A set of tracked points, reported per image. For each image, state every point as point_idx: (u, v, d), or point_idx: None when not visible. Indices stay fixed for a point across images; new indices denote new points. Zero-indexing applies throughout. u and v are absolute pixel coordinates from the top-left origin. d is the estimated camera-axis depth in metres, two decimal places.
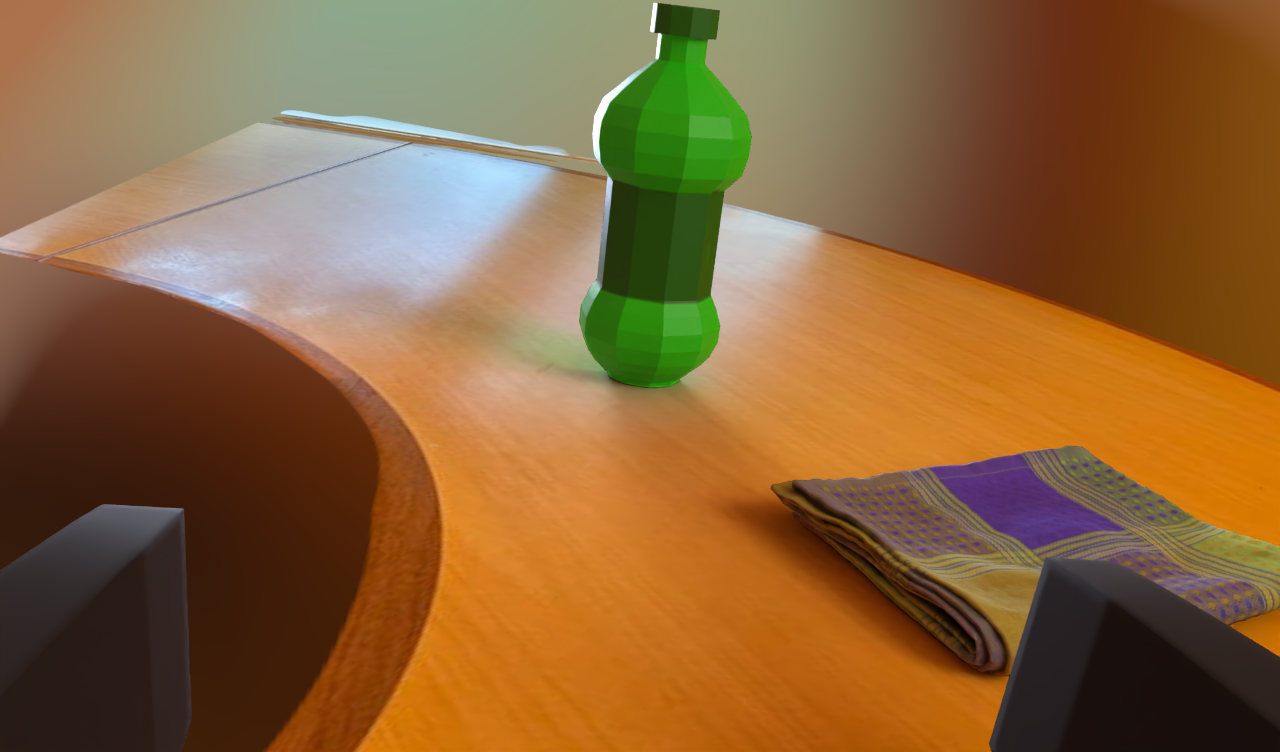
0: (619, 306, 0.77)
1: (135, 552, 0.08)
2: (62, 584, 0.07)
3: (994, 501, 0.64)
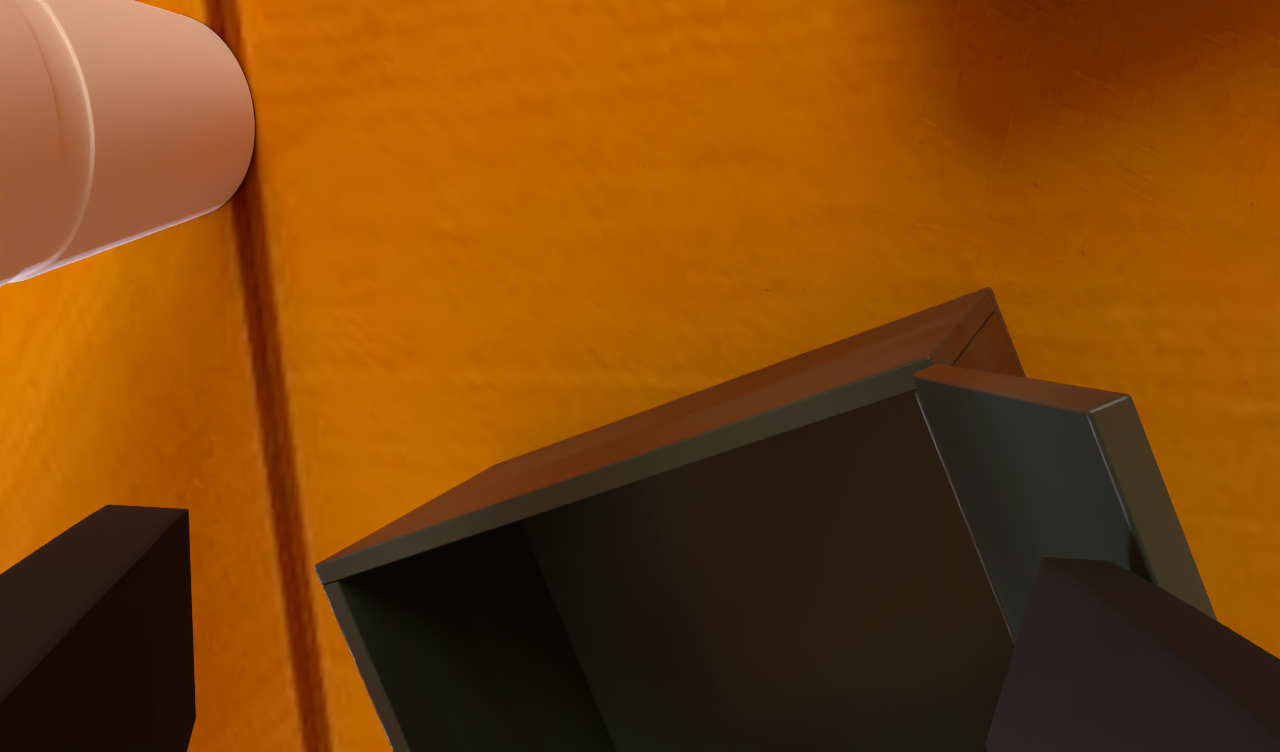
0: None
1: (141, 552, 0.08)
2: (68, 584, 0.07)
3: None
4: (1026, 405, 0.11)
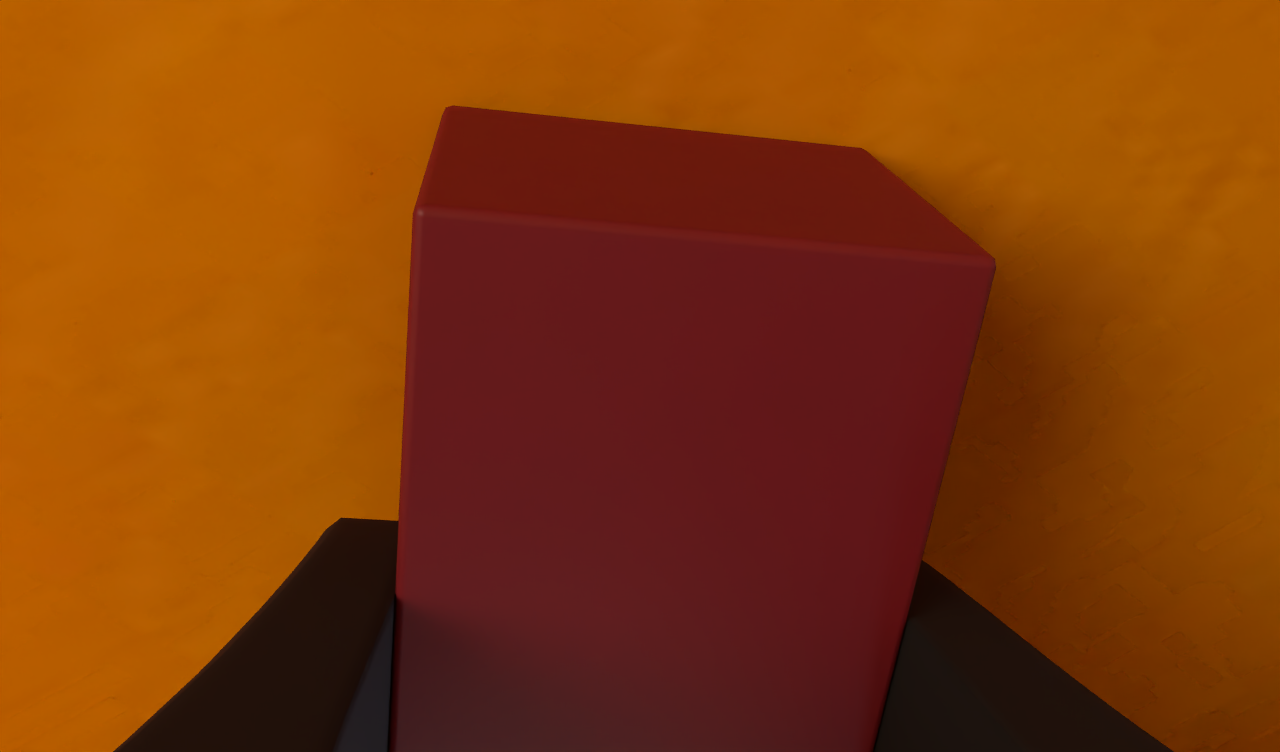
0: None
1: None
2: (350, 598, 0.07)
3: None
4: None
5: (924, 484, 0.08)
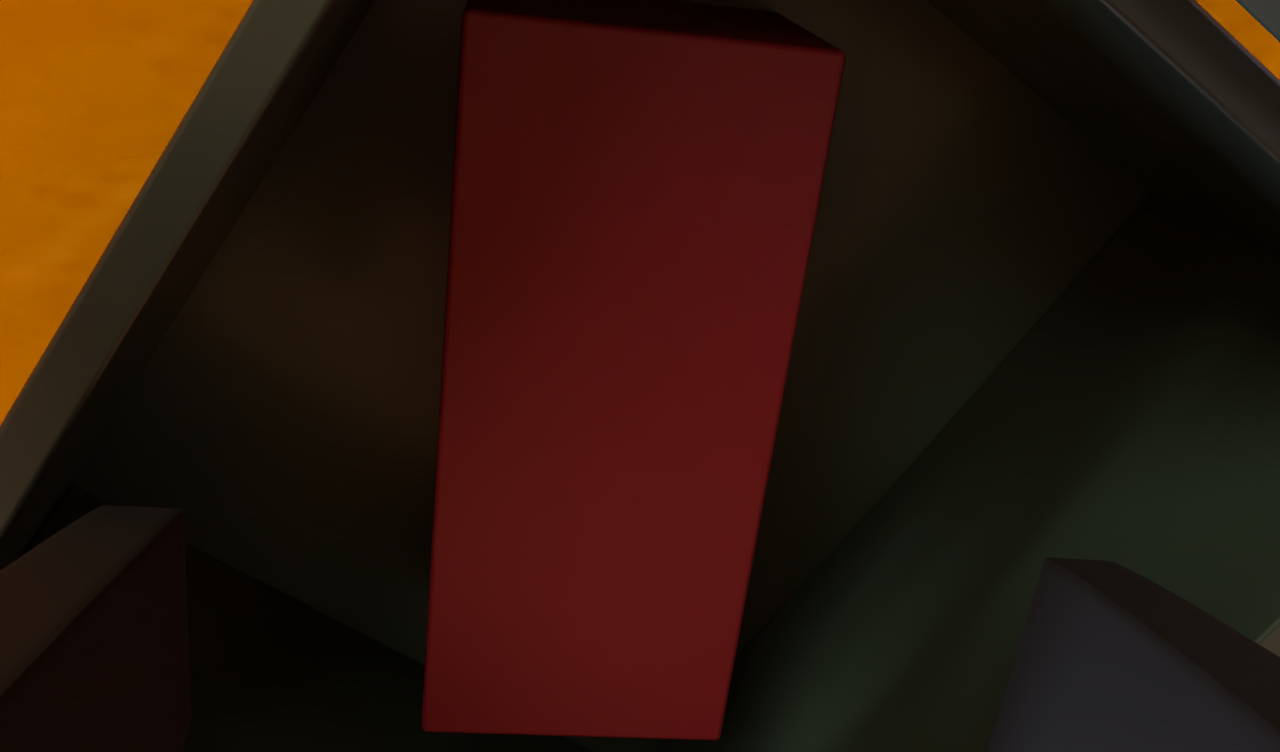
0: None
1: (135, 552, 0.08)
2: (62, 584, 0.07)
3: None
4: None
5: (804, 214, 0.11)
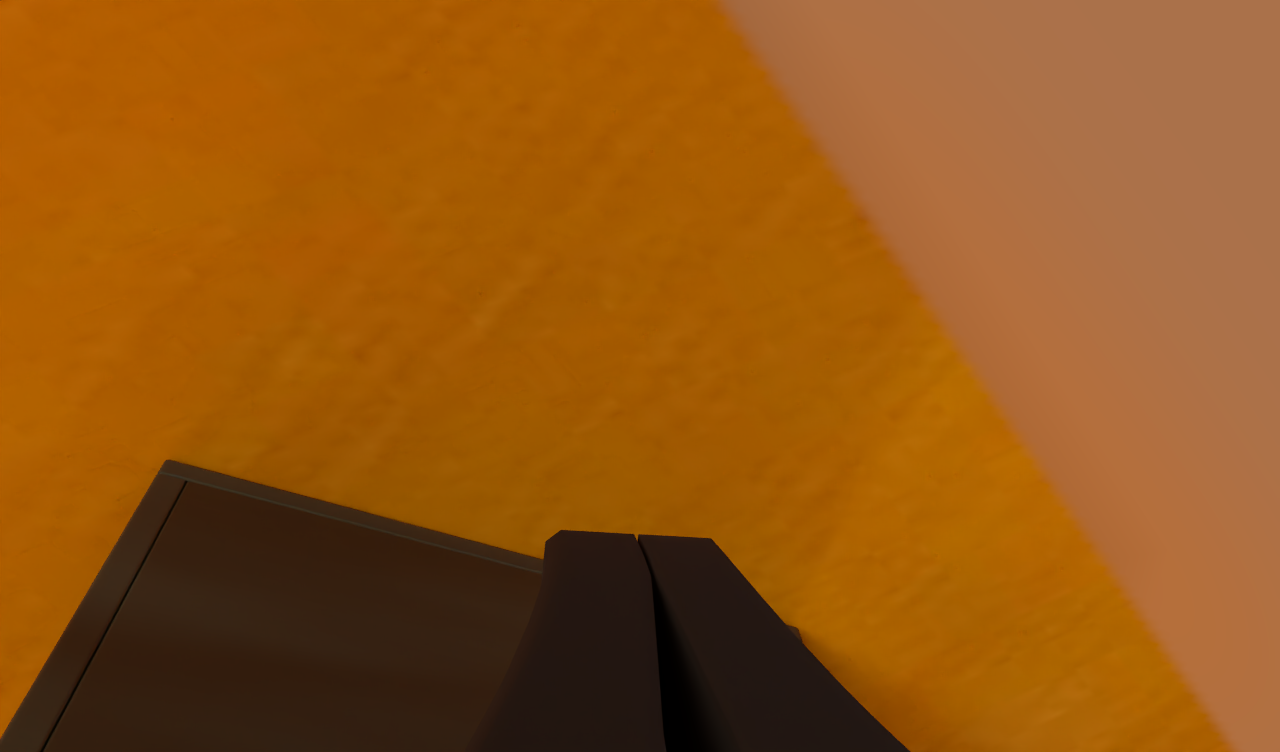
0: None
1: (644, 578, 0.08)
2: (615, 610, 0.08)
3: None
4: None
5: None
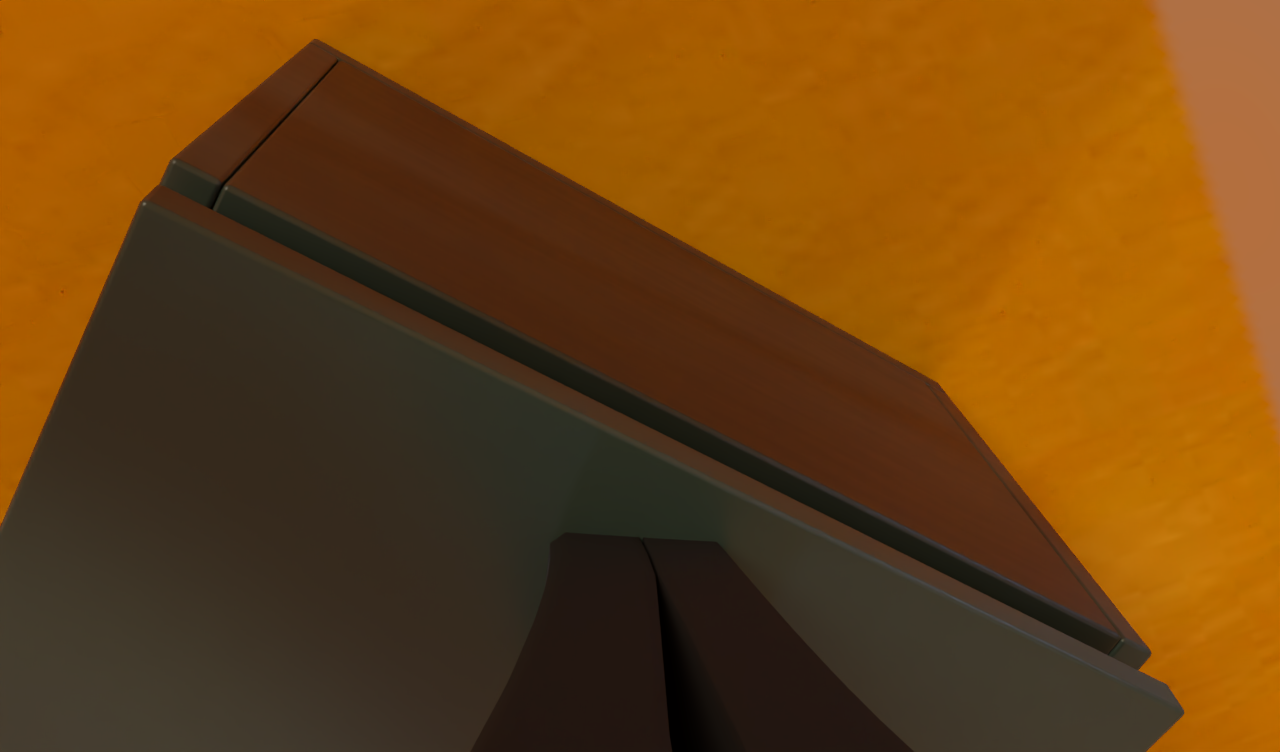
0: None
1: (648, 578, 0.08)
2: (620, 610, 0.08)
3: None
4: None
5: None
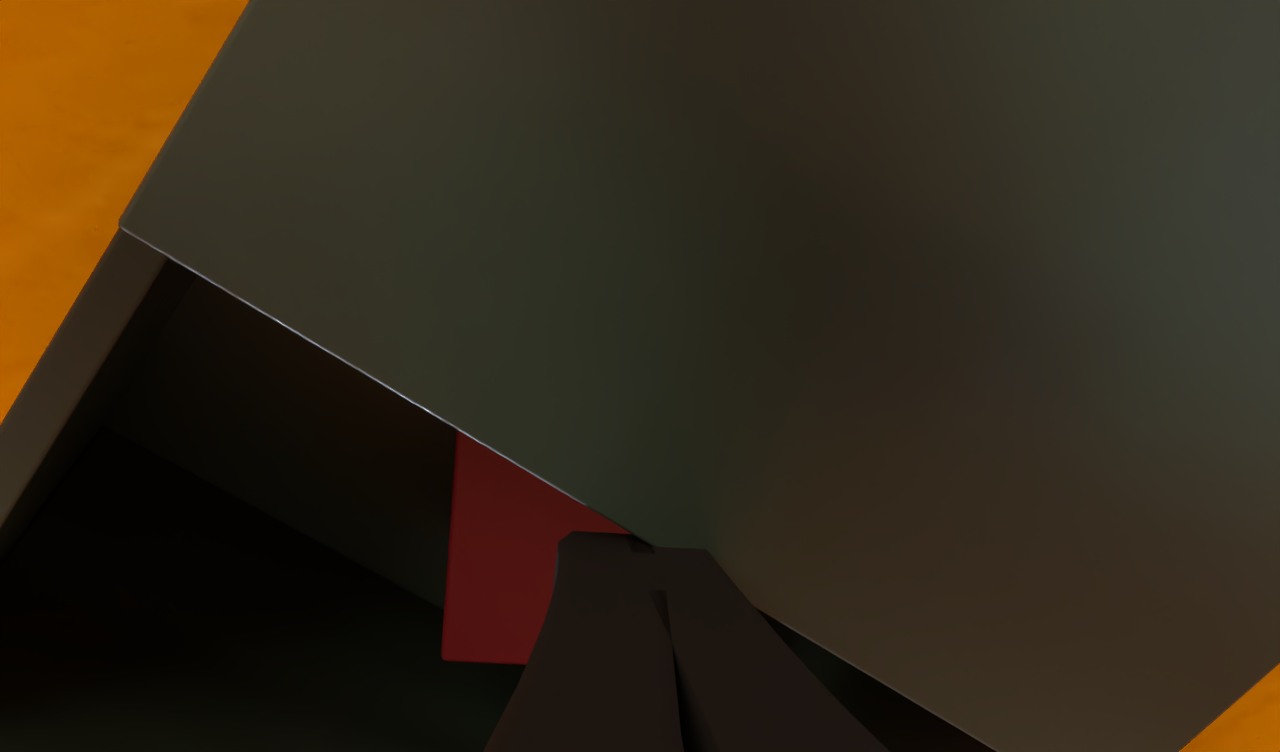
0: None
1: (657, 579, 0.08)
2: (630, 611, 0.08)
3: None
4: None
5: None
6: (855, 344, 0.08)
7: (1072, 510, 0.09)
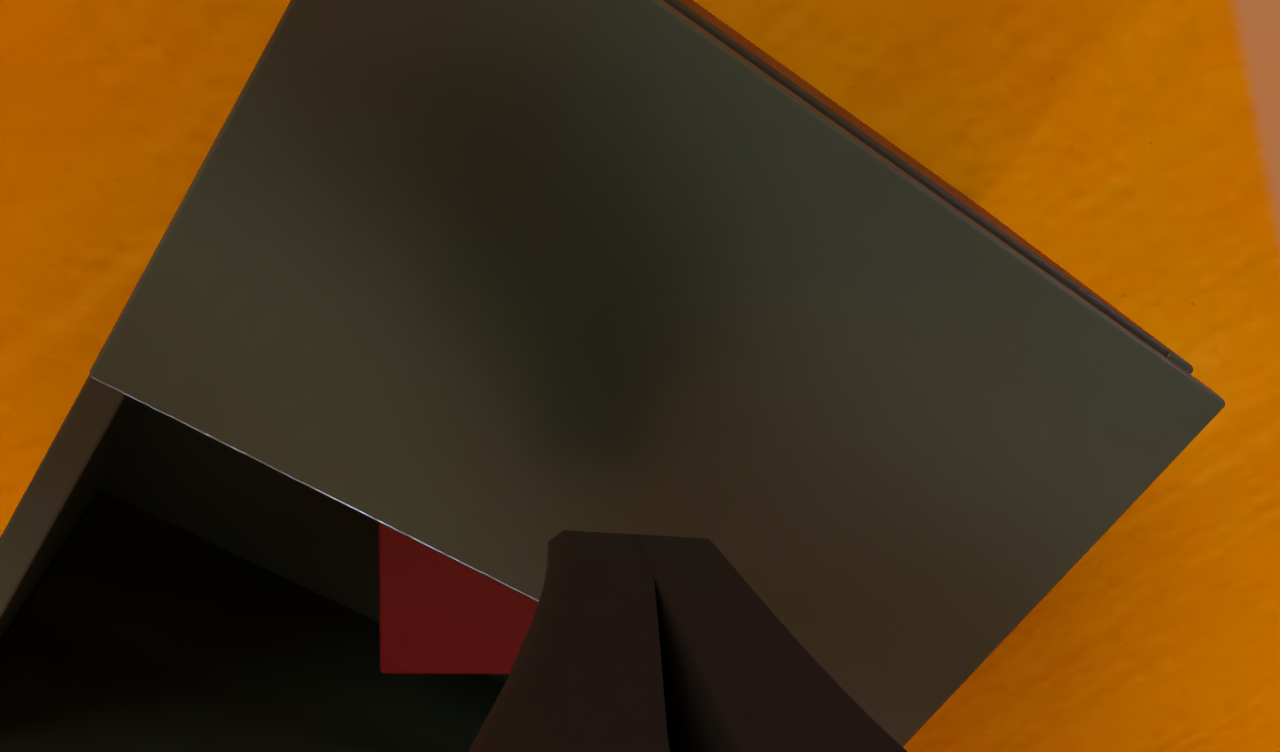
0: None
1: (647, 578, 0.08)
2: (618, 610, 0.08)
3: None
4: None
5: None
6: (629, 430, 0.12)
7: (811, 541, 0.12)
